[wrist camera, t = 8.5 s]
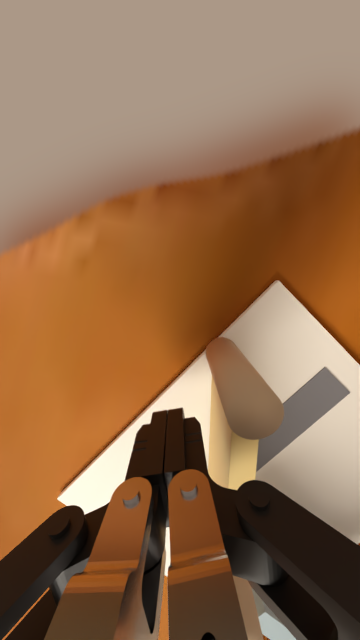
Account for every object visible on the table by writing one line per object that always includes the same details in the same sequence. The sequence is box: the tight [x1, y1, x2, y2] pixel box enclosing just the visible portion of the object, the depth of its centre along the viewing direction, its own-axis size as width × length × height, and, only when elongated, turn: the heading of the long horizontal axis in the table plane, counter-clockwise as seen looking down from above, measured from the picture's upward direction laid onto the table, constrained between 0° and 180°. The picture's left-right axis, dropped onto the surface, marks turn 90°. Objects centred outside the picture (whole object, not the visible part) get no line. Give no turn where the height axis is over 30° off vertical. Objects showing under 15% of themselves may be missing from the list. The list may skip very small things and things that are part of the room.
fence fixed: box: [233, 576, 296, 640], centre depth 12 cm, size 12×2×7 cm, turn 47°
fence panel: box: [206, 337, 284, 490], centre depth 11 cm, size 9×2×6 cm, turn 0°
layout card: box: [57, 280, 360, 577], centre depth 15 cm, size 18×20×1 cm
